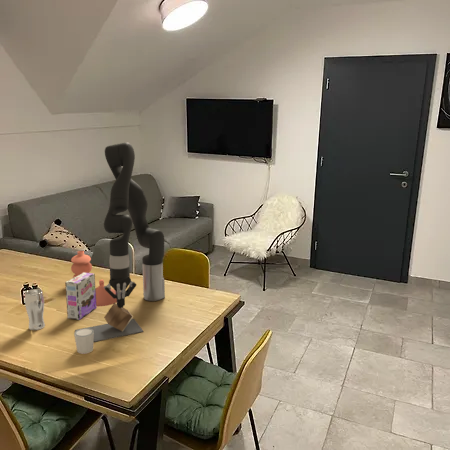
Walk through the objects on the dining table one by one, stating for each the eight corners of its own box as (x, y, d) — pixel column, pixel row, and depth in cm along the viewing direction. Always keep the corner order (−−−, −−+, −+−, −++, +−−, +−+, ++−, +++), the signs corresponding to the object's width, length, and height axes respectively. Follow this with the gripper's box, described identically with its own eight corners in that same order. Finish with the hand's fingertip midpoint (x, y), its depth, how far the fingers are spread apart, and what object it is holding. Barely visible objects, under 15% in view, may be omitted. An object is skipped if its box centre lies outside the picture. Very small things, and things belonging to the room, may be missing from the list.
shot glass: (77, 345, 166) (76, 328, 164) (96, 345, 166) (95, 327, 165) (73, 354, 159) (72, 336, 157) (92, 354, 159) (91, 336, 158)
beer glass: (49, 324, 182) (47, 290, 179) (37, 332, 176) (34, 296, 173) (36, 322, 185) (33, 288, 181) (23, 329, 178) (20, 293, 175)
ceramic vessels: (133, 298, 211) (132, 260, 207) (92, 311, 196) (90, 270, 192) (97, 280, 235) (95, 246, 231) (58, 290, 221) (55, 253, 217)
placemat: (133, 319, 188) (133, 318, 188) (143, 331, 177) (143, 330, 177) (74, 330, 177) (74, 329, 177) (81, 344, 166) (81, 343, 166)
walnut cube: (128, 310, 183) (114, 302, 180) (133, 316, 177) (118, 308, 174) (118, 324, 182) (104, 317, 179) (122, 331, 176) (108, 324, 173)
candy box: (79, 320, 187) (76, 283, 183) (67, 318, 188) (64, 281, 185) (97, 307, 200) (95, 272, 196) (85, 306, 201) (83, 271, 198)
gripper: (133, 260, 180) (134, 301, 184) (100, 264, 174) (101, 306, 178) (139, 265, 174) (139, 307, 177) (104, 270, 167) (106, 313, 171)
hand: (120, 306), depth 177 cm, fingers closed
